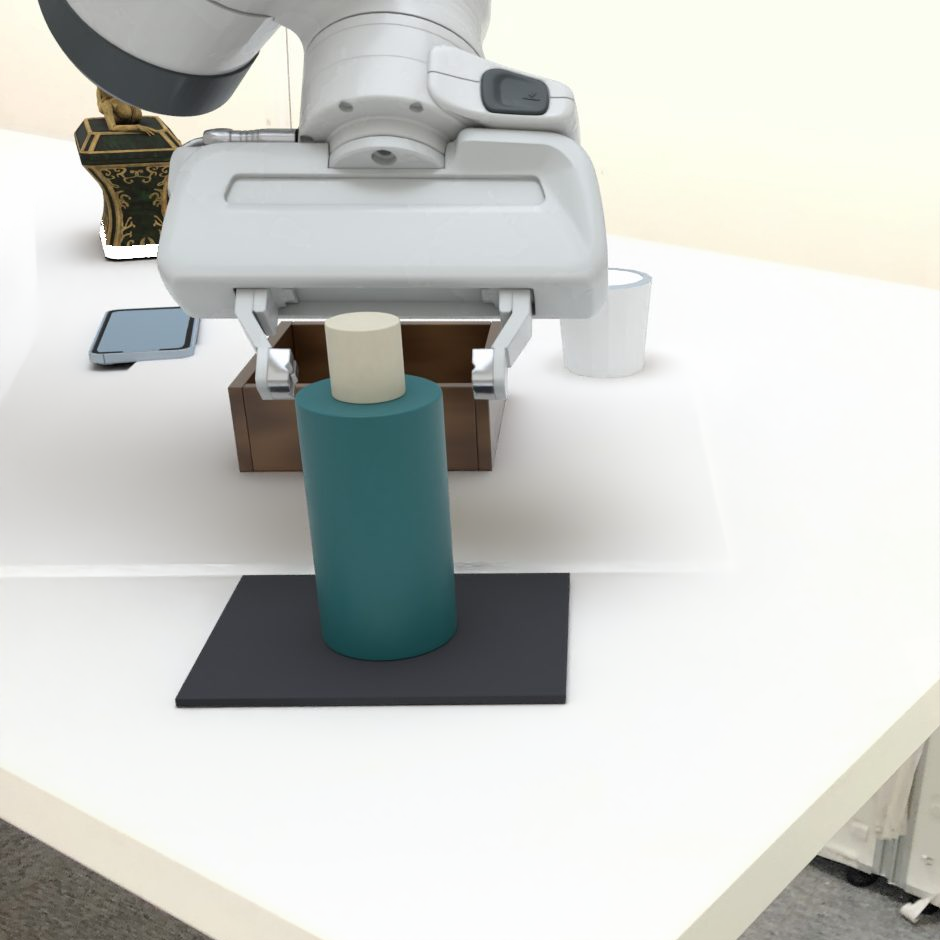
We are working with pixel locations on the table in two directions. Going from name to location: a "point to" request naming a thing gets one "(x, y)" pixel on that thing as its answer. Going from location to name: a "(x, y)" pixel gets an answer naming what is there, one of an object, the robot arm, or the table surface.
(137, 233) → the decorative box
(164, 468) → the table surface
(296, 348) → the wooden box
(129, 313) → the smartphone
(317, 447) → the bottle
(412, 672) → the mat
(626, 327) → the white cup
